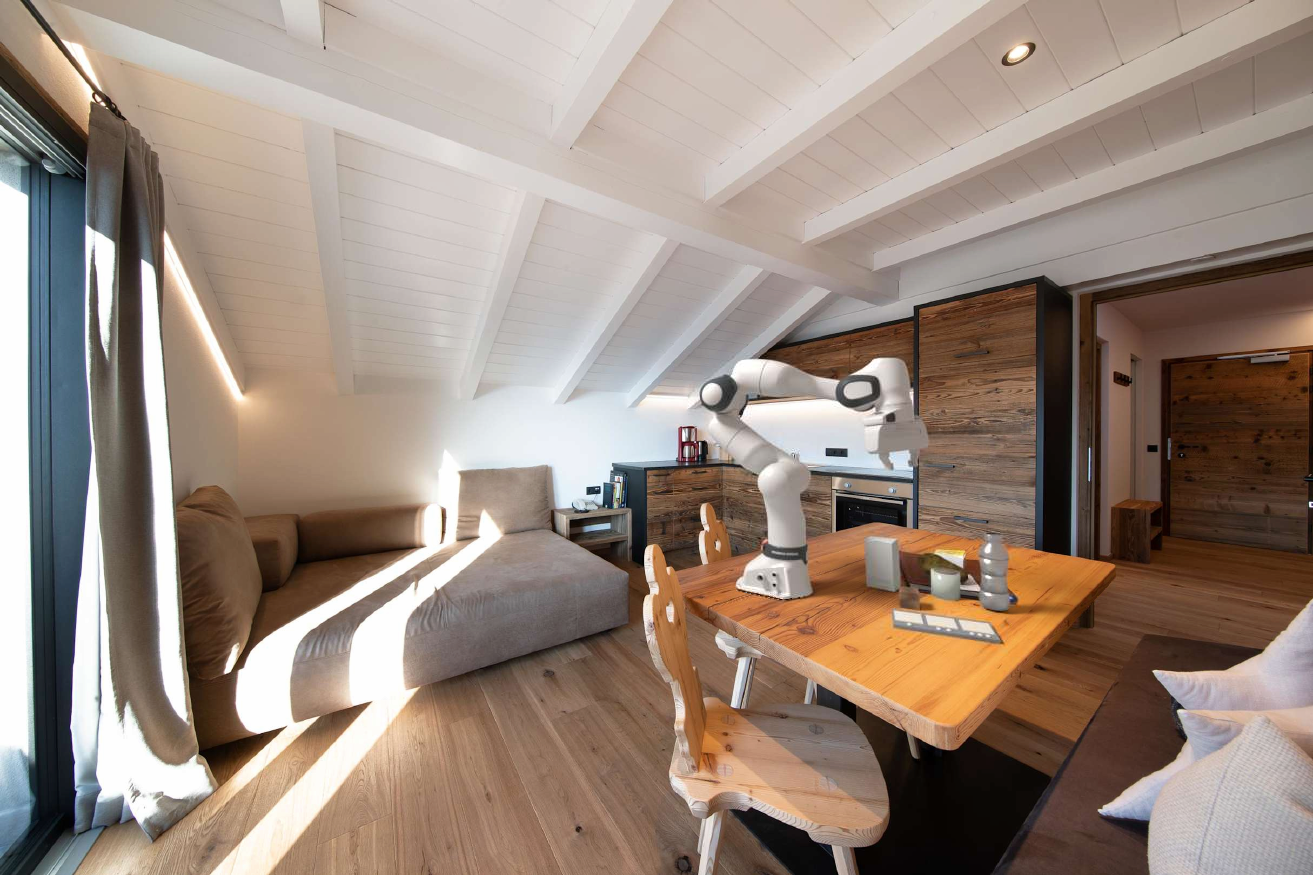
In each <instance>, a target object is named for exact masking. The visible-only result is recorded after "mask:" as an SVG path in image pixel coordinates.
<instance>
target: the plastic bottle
mask: <svg viewBox="0 0 1313 875" xmlns="http://www.w3.org/2000/svg"><path fill="white" fill-rule="evenodd" d="M983 540H984V543H982V545H981V546H980V547H979V548H978V550H977V555H978V561H979V565H980V575H981V576H980V578H981V579H980V588H979V591H978V592H979V593H978V600H979V603H980V604H981V606H982V607H983V608H984V609H985V608H986V609H988V610H991V611H999V612H1005V611H1008V610H1009V609H1010V607H1011V606H1010V605H1011V597H1010V593H1009V588H1008V583H1007V582H1008V579H1007V578H1008V567H1009V561H1010V560H1009V559H1010V553H1009V551H1008V550H1007V548H1006V547H1005V546H1004V545H1003V541H1004V540H1003V533H1000V532H995V531H994V532H993V531H991V532H989V531H988V532H987V531H986V532H984V539H983Z"/></svg>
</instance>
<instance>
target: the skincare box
mask: <svg viewBox="0 0 1313 875" xmlns="http://www.w3.org/2000/svg"><path fill="white" fill-rule="evenodd" d="M863 542H864V544H863V546H864V556H865V557H864V560H865V562H864V563H865V576H866V587H869V588H874V589H879V590H883V591H888V592H893V593H895V592H896V591H897V590H898V591H899V586H902V585H901V584H902V583H901V582H902V581H901V570H900V569H901V567H900V554H899V553H900V552H899V551H900V550H899V539H898V538H891V537H883V536H874V535H870V536H868V537H866V538H864V540H863Z"/></svg>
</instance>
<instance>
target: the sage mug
mask: <svg viewBox="0 0 1313 875" xmlns="http://www.w3.org/2000/svg"><path fill="white" fill-rule="evenodd" d="M930 594H931V596H933V597H934V598H936V599H941V600H945V601H954V602H955V601H959V600H961V583H960V573H959V572H958V571H955V570H952V569H947V568H932V569H931V576H930Z"/></svg>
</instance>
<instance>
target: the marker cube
mask: <svg viewBox="0 0 1313 875" xmlns="http://www.w3.org/2000/svg"><path fill="white" fill-rule="evenodd" d="M920 600H921V598H920V591H919V588H918V587H911V586H902V585H901V586H899V589H898V604H899V608H900V609H907V610H914V611H920V609H921V608H920V607H921V606H920Z"/></svg>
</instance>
